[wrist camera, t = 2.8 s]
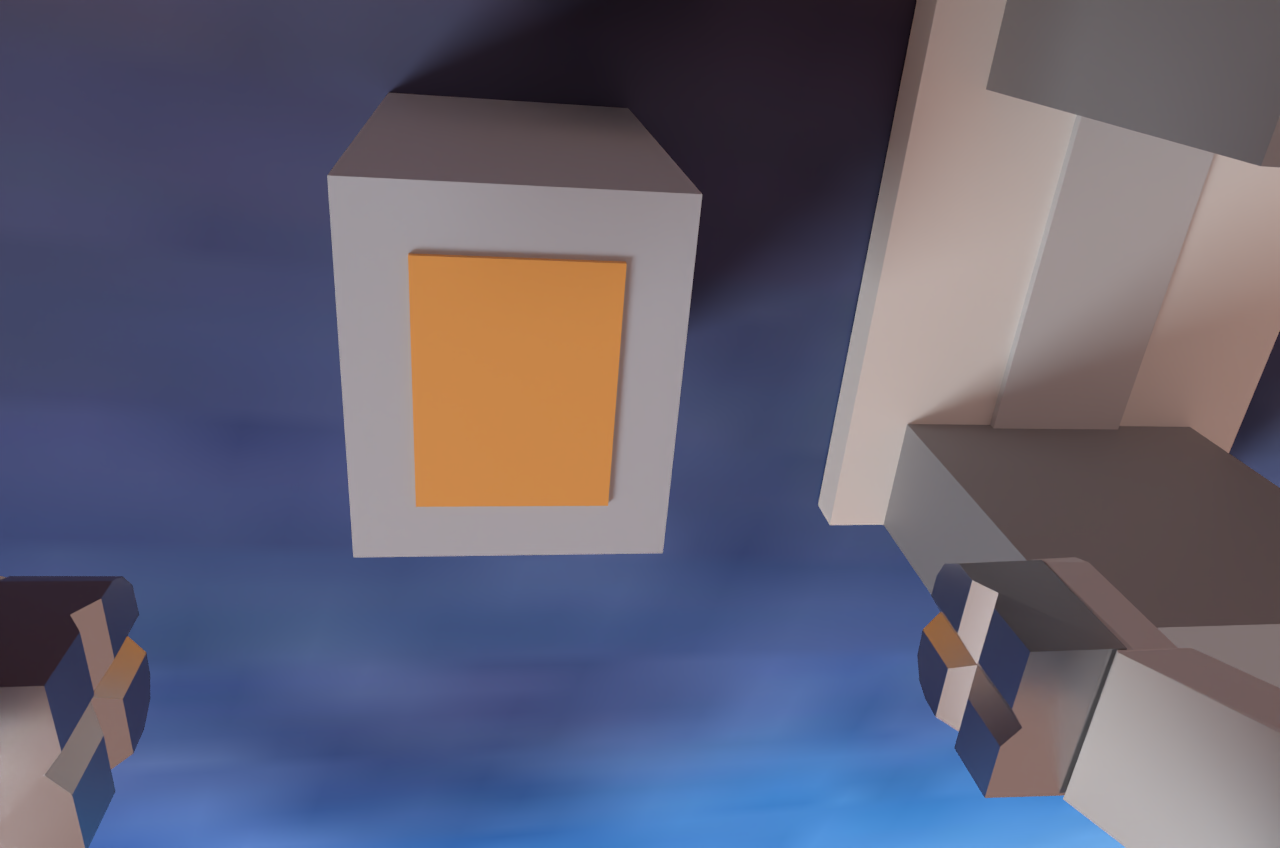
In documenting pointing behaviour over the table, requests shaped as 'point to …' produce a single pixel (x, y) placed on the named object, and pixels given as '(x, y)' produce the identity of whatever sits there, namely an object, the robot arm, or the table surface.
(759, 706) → the table surface
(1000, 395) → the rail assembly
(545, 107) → the block
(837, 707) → the table surface
